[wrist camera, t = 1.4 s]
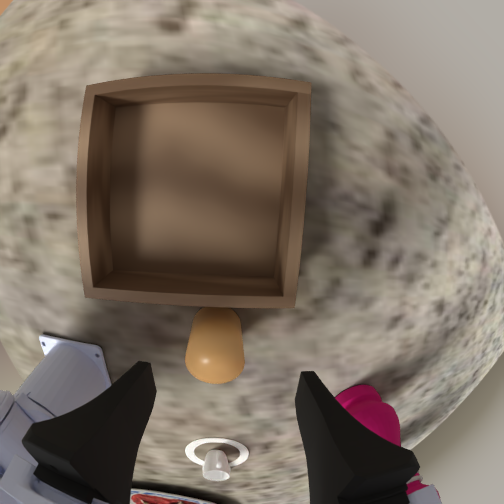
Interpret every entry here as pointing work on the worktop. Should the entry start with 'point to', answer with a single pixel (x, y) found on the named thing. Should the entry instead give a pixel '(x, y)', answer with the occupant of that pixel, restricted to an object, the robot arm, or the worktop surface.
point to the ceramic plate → (161, 498)
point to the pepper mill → (376, 419)
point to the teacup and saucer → (216, 458)
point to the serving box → (193, 189)
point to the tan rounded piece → (215, 346)
